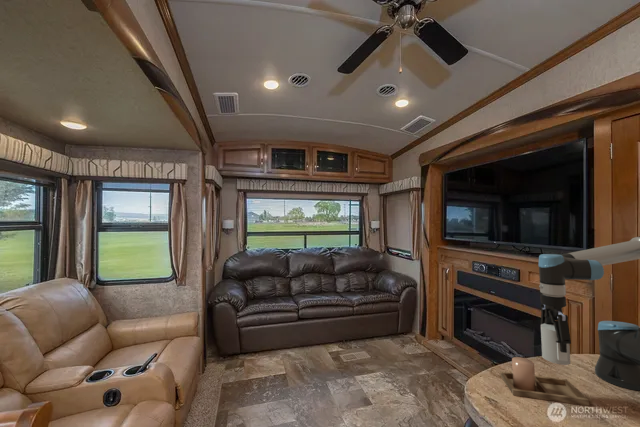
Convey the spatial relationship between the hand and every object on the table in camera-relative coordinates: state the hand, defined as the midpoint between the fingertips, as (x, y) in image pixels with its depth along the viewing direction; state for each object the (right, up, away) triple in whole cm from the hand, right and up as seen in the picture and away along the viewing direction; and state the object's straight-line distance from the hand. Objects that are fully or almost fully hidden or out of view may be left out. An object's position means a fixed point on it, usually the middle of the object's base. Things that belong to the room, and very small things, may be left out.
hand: (555, 354), depth 103 cm
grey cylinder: (0, -2, 0) cm, 2 cm away
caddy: (-5, -15, +1) cm, 16 cm away
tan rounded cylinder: (-10, -14, +2) cm, 18 cm away
